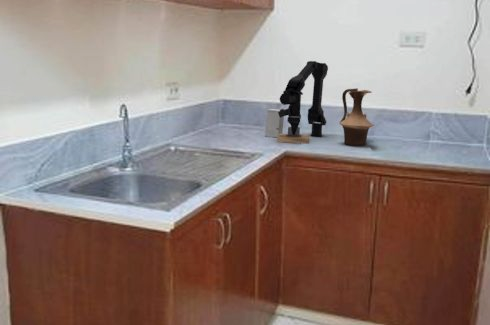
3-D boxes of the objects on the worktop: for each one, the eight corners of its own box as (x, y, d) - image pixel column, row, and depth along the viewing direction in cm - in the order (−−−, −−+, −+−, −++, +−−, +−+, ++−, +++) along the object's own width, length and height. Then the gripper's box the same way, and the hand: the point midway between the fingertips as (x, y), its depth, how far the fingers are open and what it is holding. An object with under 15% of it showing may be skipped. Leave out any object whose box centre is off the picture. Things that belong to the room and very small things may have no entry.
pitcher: (331, 144, 252) (334, 88, 247) (344, 141, 266) (347, 87, 261) (365, 147, 242) (368, 89, 237) (377, 143, 256) (380, 88, 251)
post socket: (278, 138, 269) (279, 133, 269) (308, 139, 267) (309, 134, 267) (277, 141, 255) (277, 137, 255) (308, 143, 253) (308, 138, 253)
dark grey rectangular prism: (287, 139, 264) (288, 126, 262) (299, 140, 263) (299, 127, 261) (287, 141, 260) (287, 127, 258) (299, 141, 259) (299, 128, 258)
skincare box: (264, 136, 274) (265, 109, 271) (269, 135, 279) (270, 108, 276) (278, 137, 270) (280, 110, 267) (283, 136, 275) (284, 109, 272)
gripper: (280, 101, 268) (279, 130, 271) (278, 104, 250) (276, 135, 253) (301, 102, 266) (300, 131, 269) (300, 105, 248) (299, 136, 251)
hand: (293, 133), depth 261 cm, fingers open, 5 cm apart
